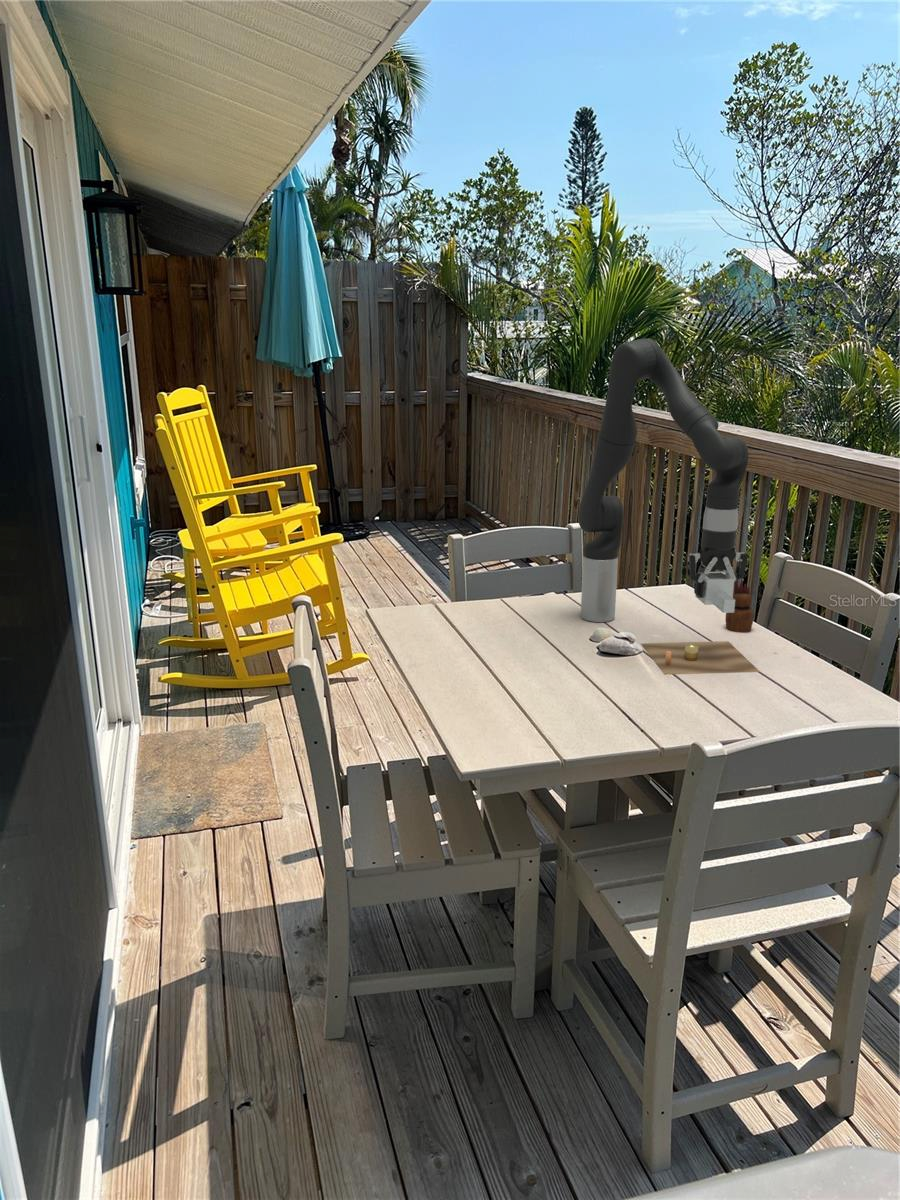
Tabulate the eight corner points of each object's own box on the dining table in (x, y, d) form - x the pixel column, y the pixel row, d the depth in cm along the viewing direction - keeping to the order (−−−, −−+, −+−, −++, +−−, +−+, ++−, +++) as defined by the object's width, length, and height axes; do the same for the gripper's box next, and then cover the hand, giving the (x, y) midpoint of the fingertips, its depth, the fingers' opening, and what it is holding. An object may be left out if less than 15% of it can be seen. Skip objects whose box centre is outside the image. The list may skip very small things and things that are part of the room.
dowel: (664, 663, 205) (665, 651, 204) (669, 663, 205) (670, 650, 204) (666, 665, 204) (667, 652, 203) (671, 664, 204) (672, 652, 203)
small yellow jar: (682, 656, 209) (683, 642, 208) (695, 656, 209) (696, 642, 208) (686, 661, 206) (687, 647, 205) (699, 660, 207) (700, 646, 206)
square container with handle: (695, 596, 211) (697, 572, 209) (721, 595, 211) (723, 571, 209) (714, 613, 199) (717, 587, 197) (742, 612, 199) (745, 586, 197)
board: (640, 649, 218) (640, 643, 218) (727, 646, 220) (728, 641, 219) (663, 680, 199) (664, 674, 199) (759, 677, 201) (760, 671, 200)
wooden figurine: (723, 636, 227) (728, 579, 223) (725, 629, 232) (730, 574, 228) (750, 639, 225) (756, 582, 220) (752, 632, 230) (758, 576, 225)
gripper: (743, 522, 207) (736, 590, 212) (683, 523, 205) (678, 592, 210) (757, 529, 199) (749, 600, 205) (695, 531, 198) (689, 602, 203)
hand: (713, 596), depth 207 cm, fingers closed on square container with handle, 6 cm apart
